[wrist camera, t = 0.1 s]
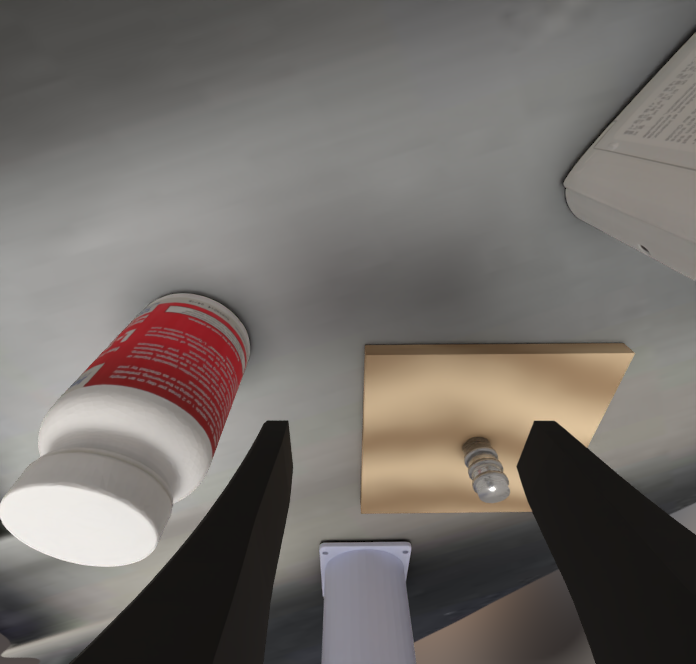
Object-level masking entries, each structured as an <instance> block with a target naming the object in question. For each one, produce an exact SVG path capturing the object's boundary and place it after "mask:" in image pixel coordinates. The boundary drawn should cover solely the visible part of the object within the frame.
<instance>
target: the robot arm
mask: <svg viewBox="0 0 696 664" xmlns="http://www.w3.org/2000/svg"><path fill="white" fill-rule="evenodd" d="M516 467H517V470H518V474H519V477H520V480H521V483H522V486H523V489H524V492H525V495H526V498H527V501H528V503H529V506H530V508H531V510H532V512H533V514H534V517H535V519H536V521H537V523H538V525H539V527H540V530H541V532H542V534H543V536H544V538H545V540H546V542H547V544H548V547H549V549H550V551H551V553H552V555H553V557H554V559H555V562H556V564H557V566H558V568H559V570H560V572H561V574H562V576H563V579H564V580H565V583H566V585H567V587H568V590H569V592H570V595H571V597H572V599H573V601H574V604H575V607H576V610H577V612H578V615H579V618H580V621H581V623H582V626H583V629H584V632H585V634H586V636H587V640H588V642H589V645H590V648H591V651H592V654H593V657H594V660H595V663H596V664H696V535H695V534H694V533H692V532H691V531H690V530H688V529H687V528H685V527H684V526H683V525H681V524H680V523H679V522H677V521H676V520H675V519H674V518H672V517H671V516H670V515H668V514H667V513H666V512H664V511H663V510H662V509H661V508H659V507H658V506H657V505H655V504H654V503H653V502H651V501H650V500H649V499H648V498H646V497H645V496H644V495H643V494H641V493H640V492H639V491H638V490H636V489H635V488H634V487H633V486H632V485H630V484H629V483H628V482H627V481H625V480H624V479H623V478H622V477H621V476H619V475H618V474H617V473H616V472H615V471H613V470H612V469H611V468H610V467H609V466H608V465H606V464H605V463H604V462H603V461H602V460H600V459H599V458H598V457H597V456H596V455H595V454H594V453H592V452H591V451H590V450H589V449H588V448H587V447H585V446H584V445H583V444H582V443H581V442H580V441H578V440H577V439H576V438H575V437H574V436H573V435H571V434H570V433H569V432H568V431H567V430H566V429H564V428H563V427H562V426H561V425H559V424H558V423H557V422H556V421H534V422H533V425H532V427H531V430H530V433H529V435H528V438H527V440H526V443H525V445H524V448H523V451H522V453H521V456H520V458H519V461H518V463H517V466H516ZM292 473H293V462H292V452H291V442H290V432H289V423H288V421H266V422H265V423H264V424H263V426H262V428H261V430H260V432H259V434H258V436H257V438H256V440H255V441H254V443H253V445H252V447H251V448H250V450H249V452H248V453H247V455H246V457H245V458H244V460H243V462H242V463H241V465H240V466H239V468H238V470H237V471H236V473H235V474H234V476H233V477H232V479H231V480H230V482H229V483H228V485H227V486H226V488H225V489H224V491H223V492H222V494H221V495H220V496H219V498H218V499H217V501H216V502H215V503H214V505H213V506H212V508H211V509H210V510H209V512H208V513H207V514H206V516H205V517H204V518H203V520H202V521H201V522H200V524H199V525H198V526H197V528H196V529H195V530H194V531H193V533H192V534H191V535H190V536H189V538H188V539H187V540H186V541H185V543H184V544H183V545H182V546H181V547H180V549H179V550H178V551H177V552H176V553H175V555H174V556H173V557H172V558H171V559H170V560H169V561H168V563H167V564H166V565H165V566H164V567H163V568H162V569H161V571H160V572H159V573H158V574H157V575H156V576H155V577H154V578H153V580H152V581H151V582H150V583H149V584H148V585H147V586H146V587H145V588H144V589H143V591H142V592H141V593H140V594H139V595H138V596H137V597H136V598H135V599H134V600H133V601H132V602H131V603H130V604H129V605H128V606H127V607H126V608H125V609H124V610H123V611H122V612H121V613H120V614H119V615H118V616H117V617H116V618H115V619H114V620H113V621H112V622H111V623H110V624H109V625H108V626H107V627H106V628H105V629H104V630H103V631H102V632H101V633H100V634H99V635H98V636H97V637H96V638H95V639H94V640H93V641H92V642H91V643H90V644H89V645H88V646H87V647H86V648H85V649H84V650H83V651H82V652H81V653H80V654H79V655H78V656H77V657H76V658H75V659H74V660H72V661H71V662H70V663H69V664H263V662H264V653H265V644H266V636H267V627H268V619H269V610H270V602H271V596H272V590H273V584H274V579H275V574H276V569H277V564H278V559H279V554H280V549H281V544H282V539H283V534H284V529H285V524H286V518H287V513H288V508H289V503H290V494H291V484H292ZM319 553H320V566H321V578H322V590H323V596H324V614H323V640H322V664H416V658H415V650H414V642H413V635H412V627H411V619H410V612H409V604H408V596H407V588H406V578H407V572H408V566H409V560H410V554H411V544H410V543H409V542H337V543H321V544H320V546H319Z"/></svg>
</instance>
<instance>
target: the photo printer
mask: <svg viewBox="0 0 696 664" xmlns="http://www.w3.org/2000/svg"><path fill="white" fill-rule="evenodd" d="M564 187H566V191H565V194H566V201H567V204H568V206H569V208H570V210H571V211H572V213H573V214H574V215H575V216H576V217H578V218H579V219H581V220H583V221H584V222H586V223H588V224H590V225H592V226H593V227H595V228H597V229H599V230H601V231H603V232H604V233H606V234H608V235H610V236H612V237H614V238H615V239H617V240H619V241H621V242H623V243H625V244H627V245H628V246H630V247H632V248H634V249H636V250H638V251H640V252H642V253H644V254H646V255H648V256H649V257H651V258H653V259H655V260H657V261H659V262H661V263H662V264H664V265H666V266H668V267H670V268H672V269H673V270H675V271H677V272H679V273H681V274H683V275H685V276H687V277H689V278H691V279H692V280H694V281H696V32H695V33H694V34H693V35H692V37H691V38H690V39H689V40H688V41H687V42H686V43H685V44H684V45H683V46H682V47H681V48H680V49H679V50H678V51H677V52H676V53H675V55H674V56H673V57H672V58H671V59H670V60H669V61H668V62H667V63H666V64H665V65H664V66H663V67H662V69H661V70H660V71H659V72H658V73H657V74H656V75H655V76H654V77H653V78H652V79H651V80H650V82H649V83H648V84H647V85H646V86H645V87H644V88H643V89H642V90H641V91H640V92H639V93H638V95H637V96H636V97H635V98H634V99H633V100H632V101H631V102H630V103H629V104H628V105H627V107H626V108H625V109H624V110H623V111H622V112H621V113H620V114H619V115H618V116H617V117H616V119H615V120H614V121H613V122H612V123H611V124H610V125H609V126H608V127H607V128H606V129H605V130H604V132H603V133H602V134H601V135H600V136H599V137H598V139H597V140H596V141H595V142H594V143H593V144H592V146H591V147H590V148H589V149H588V150H587V151H586V153H585V154H584V155H583V156H582V157H581V158H580V160H579V161H578V162H577V163H576V165H575V166H574V167H573V169H572V170H571V171H570V173H569V174H568V176H567V177H566V179H565V181H564Z"/></svg>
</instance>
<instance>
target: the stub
mask: <svg viewBox="0 0 696 664" xmlns="http://www.w3.org/2000/svg"><path fill="white" fill-rule="evenodd" d="M462 449H463V452H464V455H465V456H464V462H465V465H466V467H467V468H468V474H469V477H470V479H471V480H473V481H472V486H473V489H474V491H475V492H476V493H477V494H478V496H479V499H480V500H481V501H483V502H485V503H497V502H500V501H503V500H504V499H506V498H507V497H508V496H509V494H510V489H509V487H508V485H509V480H508V478H507V476H506V474H505V473H503V466H502V464H501V462H500V461H499V460H498V455H497V453H496V451H495V450H494V449H493V448H492V447H491V445H490V442H489V441H488V440H487V439H486V438H484V437H474V438H471V439H469V440H467V441H466V442H465V443H464V444H463V447H462Z"/></svg>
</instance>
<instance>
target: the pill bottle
mask: <svg viewBox="0 0 696 664" xmlns="http://www.w3.org/2000/svg"><path fill="white" fill-rule="evenodd" d="M249 356H250V342H249V337H248V334H247V331H246V329H245V327H244V326H243V324H242V323H241V321H240V320H239V319H238V318H237V317H236V315H235V314H233V313H232V312H231V311H230V310H229V309H228V308H226V307H225V306H223V305H222V304H220V303H218V302H216V301H214V300H212V299H210V298H207V297H204V296H200V295H195V294H188V293H177V294H171V295H167V296H164V297H161V298H159V299H157V300H155V301H154V302H152V303H151V304H149V305H148V306H147V307H146V308H145V309H144V310H143V311H142V312H140V314H139V315H138V316H137V317H136V318H135V319H134V320H133V321H132V322H131V323H130V324H129V325H128V326H127V327H126V328H125V329H124V330H123V331H122V332H121V333H120V334H119V336H118V337H117V338H116V339H115V340H114V341H113V342H112V343H111V344H110V345H109V346H108V347H107V348H106V349H105V350H104V351H103V352H102V353H101V354H100V356H99V357H98V358H97V359H96V360H95V361H94V362H93V363H92V364H91V365H90V366H89V367H88V368H87V369H86V370H85V372H84V373H83V374H82V375H81V376H80V377H79V378H78V379H77V380H76V381H75V382H74V383H73V384H72V385H71V386H70V388H69V389H68V390H67V391H66V392H65V393H64V394H63V395H62V396H61V397H60V398H59V399H58V400H57V401H56V403H55V404H54V405H53V406H52V407H51V408H50V410H49V411H48V413H47V414H46V416H45V417H44V419H43V421H42V424H41V426H40V430H39V436H38V447H39V452H40V456H41V457H40V458H39V459H37V460H36V461H34V462H33V463H31V464H30V465H29V466H28V467H27V468H26V469H25V471H24V472H23V473H22V475H21V476H20V477H19V478H18V480H17V481H16V482H15V484H14V485H13V486H12V487H11V489H10V490H9V491H8V492H7V494H6V495H5V496H4V498H3V499H2V501H1V503H0V519H1V521H2V523H3V525H4V526H5V527H6V529H7V530H8V531H9V532H10V533H11V534H13V535H14V536H15V537H16V538H17V539H19V540H20V541H22V542H23V543H25V544H26V545H27V546H29V547H31V548H33V549H36V550H38V551H40V552H42V553H44V554H46V555H49V556H52V557H55V558H58V559H61V560H64V561H68V562H72V563H76V564H82V565H89V566H104V567H111V566H121V565H127V564H131V563H135V562H138V561H140V560H142V559H144V558H146V557H147V556H148V555H150V554H151V553H152V552H153V550H154V549H155V548H156V546H157V544H158V542H159V540H160V537H161V535H162V533H163V530H164V528H165V526H166V524H167V522H168V520H169V518H170V516H171V511H172V507H173V504H174V503H176V502H178V501H180V500H182V499H184V498H185V497H187V496H188V495H189V494H191V493H192V492H193V491H194V490H195V489H196V488H197V487H198V486H199V485H200V484H201V482H202V481H203V479H204V477H205V476H206V474H207V472H208V470H209V467H210V465H211V462H212V459H213V456H214V453H215V450H216V448H217V445H218V442H219V439H220V436H221V434H222V431H223V428H224V426H225V423H226V420H227V417H228V415H229V412H230V409H231V407H232V404H233V401H234V398H235V396H236V393H237V390H238V388H239V385H240V382H241V380H242V377H243V374H244V372H245V369H246V366H247V363H248V360H249Z"/></svg>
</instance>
